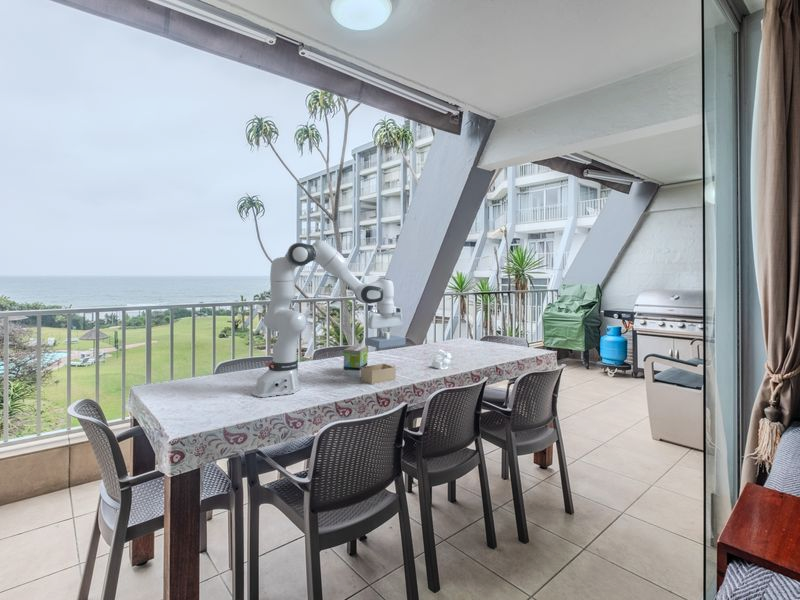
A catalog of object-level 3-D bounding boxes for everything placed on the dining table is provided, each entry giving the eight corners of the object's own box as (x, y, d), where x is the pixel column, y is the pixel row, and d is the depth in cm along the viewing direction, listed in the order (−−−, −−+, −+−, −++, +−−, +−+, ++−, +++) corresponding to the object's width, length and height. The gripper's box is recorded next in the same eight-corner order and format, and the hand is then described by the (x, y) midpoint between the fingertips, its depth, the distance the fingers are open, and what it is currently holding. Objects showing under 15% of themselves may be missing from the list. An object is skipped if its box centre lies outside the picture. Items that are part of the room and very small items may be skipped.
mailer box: (371, 384, 202) (372, 371, 202) (360, 379, 211) (360, 367, 211) (395, 380, 211) (395, 367, 211) (383, 375, 220) (383, 363, 220)
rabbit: (452, 367, 241) (452, 348, 240) (447, 371, 232) (448, 351, 232) (433, 366, 246) (433, 347, 245) (428, 369, 237) (428, 349, 236)
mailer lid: (379, 348, 195) (379, 335, 195) (365, 344, 205) (365, 332, 205) (405, 344, 205) (405, 332, 205) (391, 341, 215) (391, 329, 215)
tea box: (360, 376, 217) (360, 350, 217) (342, 375, 219) (342, 349, 219) (367, 370, 232) (367, 345, 231) (351, 369, 234) (351, 345, 233)
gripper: (372, 311, 195) (372, 338, 196) (404, 308, 208) (404, 335, 209) (365, 310, 200) (365, 337, 201) (397, 308, 213) (397, 333, 214)
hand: (385, 336), depth 205 cm, fingers closed on mailer lid
